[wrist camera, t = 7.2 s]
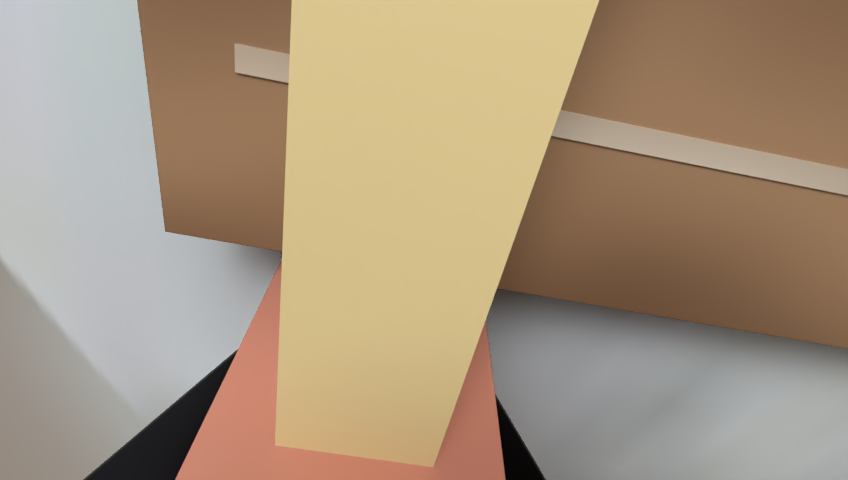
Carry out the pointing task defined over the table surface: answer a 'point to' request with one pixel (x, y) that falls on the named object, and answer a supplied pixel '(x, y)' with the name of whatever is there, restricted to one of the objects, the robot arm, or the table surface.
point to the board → (579, 155)
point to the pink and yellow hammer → (393, 240)
